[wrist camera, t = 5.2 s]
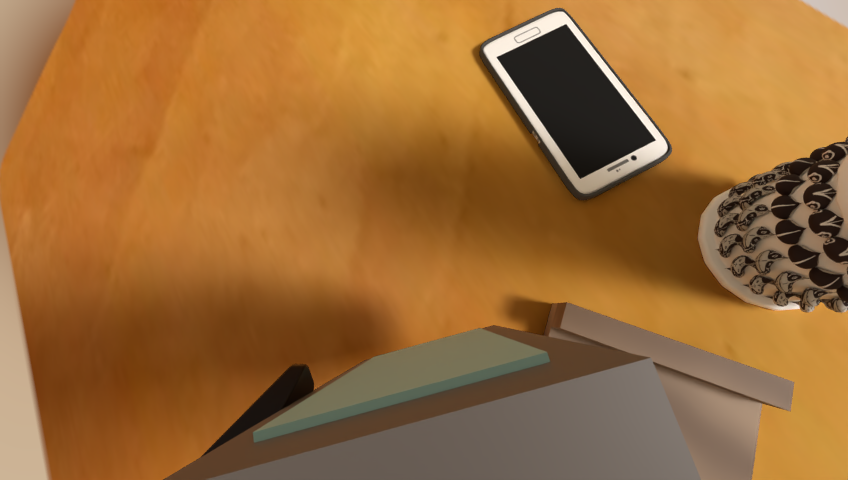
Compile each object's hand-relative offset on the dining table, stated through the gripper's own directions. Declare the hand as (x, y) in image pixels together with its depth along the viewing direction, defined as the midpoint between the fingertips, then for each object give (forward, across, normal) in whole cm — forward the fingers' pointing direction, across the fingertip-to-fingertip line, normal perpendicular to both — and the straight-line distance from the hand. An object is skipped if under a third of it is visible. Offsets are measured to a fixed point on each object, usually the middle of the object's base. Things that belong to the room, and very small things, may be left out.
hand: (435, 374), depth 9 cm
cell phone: (+21, -10, -3) cm, 24 cm away
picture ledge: (+6, -12, +11) cm, 17 cm away
